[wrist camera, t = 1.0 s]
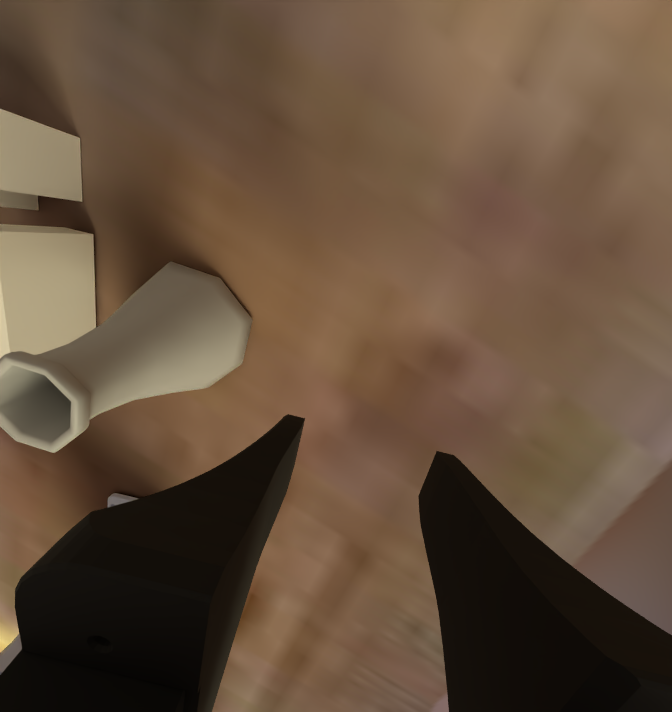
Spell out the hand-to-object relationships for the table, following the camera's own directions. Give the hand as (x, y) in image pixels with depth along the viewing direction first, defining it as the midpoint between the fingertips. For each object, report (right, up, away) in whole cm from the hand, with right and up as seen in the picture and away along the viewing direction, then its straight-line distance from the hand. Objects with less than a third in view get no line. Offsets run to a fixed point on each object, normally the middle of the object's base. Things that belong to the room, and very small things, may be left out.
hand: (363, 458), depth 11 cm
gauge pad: (-15, +8, +7) cm, 19 cm away
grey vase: (-10, +5, +8) cm, 14 cm away
